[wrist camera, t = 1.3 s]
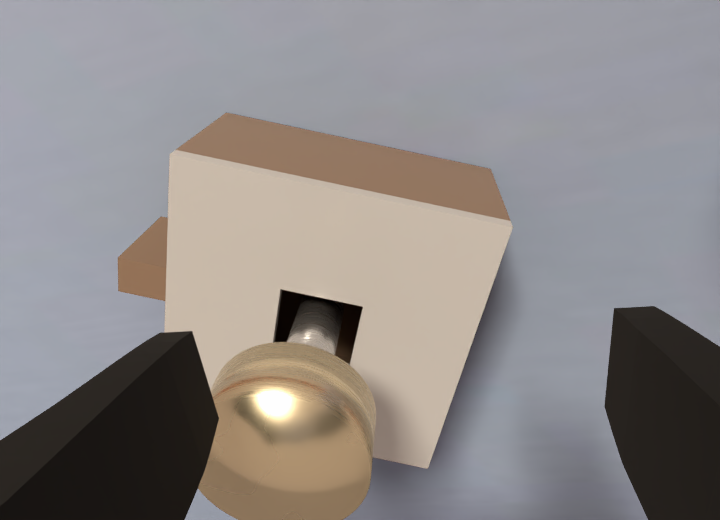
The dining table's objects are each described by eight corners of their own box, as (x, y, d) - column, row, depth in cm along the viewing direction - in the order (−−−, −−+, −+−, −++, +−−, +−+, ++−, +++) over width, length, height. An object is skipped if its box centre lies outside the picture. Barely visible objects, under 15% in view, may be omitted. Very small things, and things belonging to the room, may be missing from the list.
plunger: (398, 267, 17) (388, 419, 11) (371, 370, 18) (352, 546, 13) (266, 239, 17) (189, 377, 11) (253, 345, 18) (181, 511, 13)
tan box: (490, 169, 19) (513, 226, 14) (425, 376, 23) (427, 469, 18) (173, 101, 18) (100, 139, 14) (166, 321, 23) (108, 402, 18)
